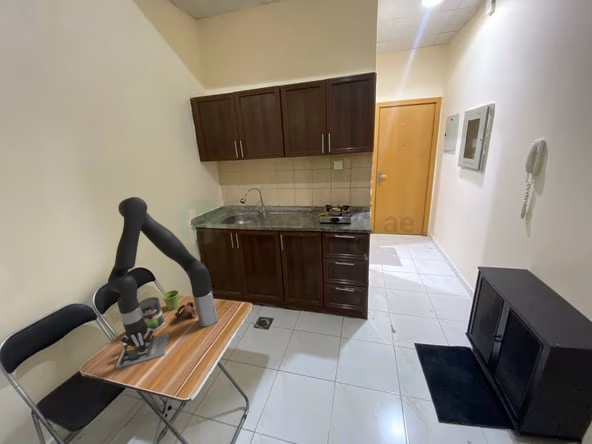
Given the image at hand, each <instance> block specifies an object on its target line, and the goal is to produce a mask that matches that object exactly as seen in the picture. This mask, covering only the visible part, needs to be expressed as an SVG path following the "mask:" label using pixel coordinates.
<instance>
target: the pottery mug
mask: <svg viewBox="0 0 592 444" xmlns="http://www.w3.org/2000/svg"><path fill="white" fill-rule="evenodd" d="M194 307H195V304H194V303H193V302H192V301H189V302H187V304H182V305H180V306H179V307H178V308H177V310H176V311H177V312H175V313H174V317H175V318H176V320H180V319H181V320H182V319H183V316H187V315H188V313H187V312H191V314H192V315H191V317H192V318H193V319H195V318H196V315H197V311H196V310H194Z"/></svg>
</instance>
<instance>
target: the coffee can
mask: <svg viewBox="0 0 592 444" xmlns="http://www.w3.org/2000/svg"><path fill="white" fill-rule="evenodd" d="M139 305H140V308H141V310H142V313H143V316H144V320H145V323H146V325H147V326H148V328H150V329H151V328H154V331H156V330H158V329H160V328H161V327H162V326H164V324H165V323H166V321H165V317H164V315H163V310H162V306H161V303H160V298H159V297H157V296H156V297H155V296H153V297H148V298H145V299H143V300H141V301H139ZM146 333H148V331H147V332H146Z"/></svg>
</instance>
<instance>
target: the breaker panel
mask: <svg viewBox="0 0 592 444" xmlns="http://www.w3.org/2000/svg"><path fill="white" fill-rule="evenodd" d="M169 338H170V333H169V332H166V333H162V334H159V335H156V336H155V335H153V334H152V335H151V337H150V339H149V341H148V342H147V343H145V344H146V350H145V352H142V353H141V352H139V351H138V353H139V355H138V358H135V359H132V360H130V359H129V356H128V354H127V355H126V352H125V349H124V348H122V349H123V350H122V351H121V354H120V356H119V358H118V360H117V363H116V365H115V369H116V370H120V369H123V368H126V367H129V366H132V365H136V364H139V363H143V362H145V361H148V360H149V361H150V360H152V359H156V358H159V357H162V356H165V355H166V352H167V347H168V344H169ZM136 347H137V346H136ZM137 350H138V348H137Z"/></svg>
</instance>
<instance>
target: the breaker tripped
mask: <svg viewBox="0 0 592 444" xmlns="http://www.w3.org/2000/svg"><path fill="white" fill-rule="evenodd" d="M127 353H128V356H129V359H130V360H132V359H135V358H138V355H139V353H138V350H137V347H136V346H134V347H132V346H128V347H127Z"/></svg>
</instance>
